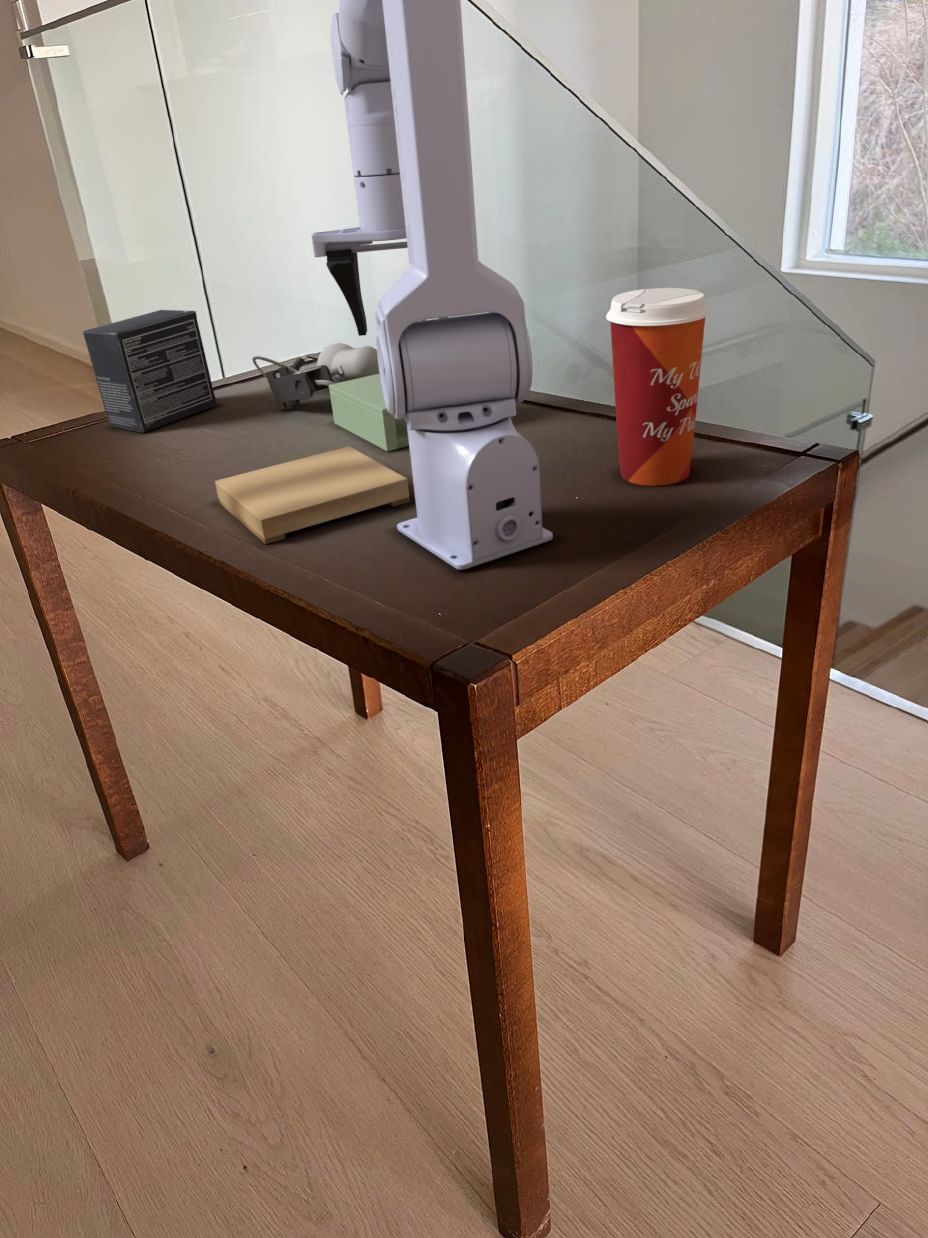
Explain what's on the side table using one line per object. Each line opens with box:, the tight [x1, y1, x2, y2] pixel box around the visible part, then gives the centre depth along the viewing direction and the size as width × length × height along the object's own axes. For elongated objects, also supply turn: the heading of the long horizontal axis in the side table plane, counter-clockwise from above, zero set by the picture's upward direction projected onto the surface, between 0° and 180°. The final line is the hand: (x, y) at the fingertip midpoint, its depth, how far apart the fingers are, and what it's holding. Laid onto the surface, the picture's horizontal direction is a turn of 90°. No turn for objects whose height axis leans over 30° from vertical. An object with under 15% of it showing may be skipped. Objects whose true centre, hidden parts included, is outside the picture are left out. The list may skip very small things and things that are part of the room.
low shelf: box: [214, 445, 411, 545], centre depth 78 cm, size 11×12×2 cm
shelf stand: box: [328, 373, 409, 452], centre depth 94 cm, size 12×12×4 cm
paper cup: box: [605, 287, 711, 487], centre depth 74 cm, size 8×8×14 cm
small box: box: [82, 309, 218, 434], centre depth 102 cm, size 11×6×10 cm, turn 144°
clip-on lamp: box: [251, 342, 380, 411], centre depth 106 cm, size 12×6×18 cm
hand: (403, 329), depth 91 cm, fingers open, 7 cm apart
